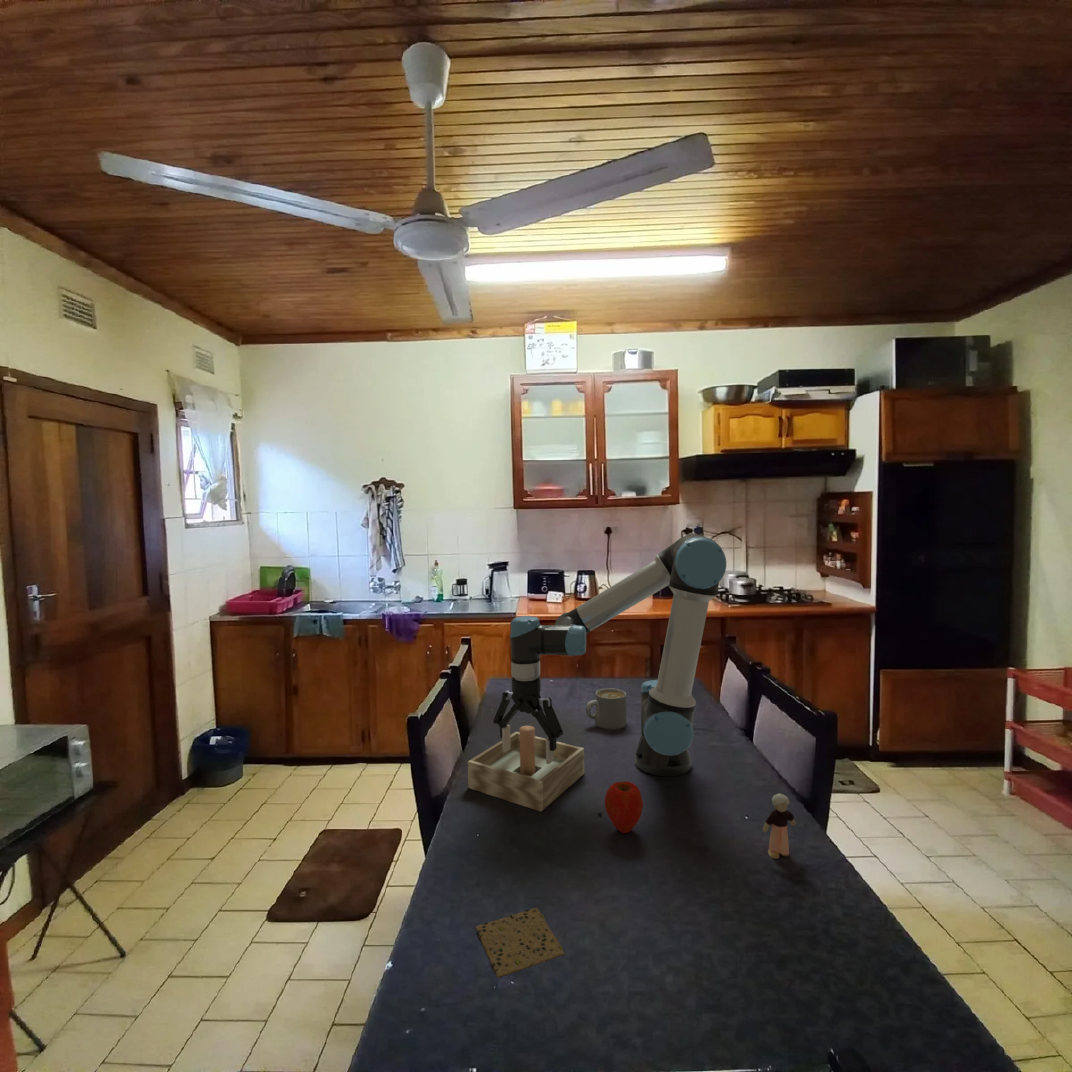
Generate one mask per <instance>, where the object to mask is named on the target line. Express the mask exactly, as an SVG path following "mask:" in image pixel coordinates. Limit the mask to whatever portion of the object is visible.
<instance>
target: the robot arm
mask: <svg viewBox="0 0 1072 1072" xmlns="http://www.w3.org/2000/svg"><path fill="white" fill-rule="evenodd" d="M726 570H727V558H726V554H725V552H724V550H723V549H722V547H721V545H719V544H718V542H716V541H715V540H713V539H711V538H709V537H707V536H705V535H702V534H697V533H691V534H687V535H684V536H682V537H680V538H678V539H677V540H676V541H675V542H673V543H672V544H670V545H669V546H668V547H666V548H665V549H663V550H662V551H660V552H659V553H657V554H656V555H655V558H654V560H653V561H651V562H649V563H648V564H646V565H645V566H643V567H641V568H639V569H638V570H636V571H634V572H633V573H631V574H630V575H627V576H626V577H624V579H621V580H619V581H618V582H617V583H615V584H613V585H611V586H609V587H608V588H607V589H605V590H603V591H602V592H600V593H598V594H597V595H595V596H593V597H591V598H590V599H588V600H587V601H585V602H583V603H582V604H580V605H579V606H577V607H575V608H573V609H572V610H571V611H568V612H563V613H562V614H560V616H558V617H557V619H556V620H555V621H554V625H546V624H545V625H543V624H541V623H540V619H539V618H538V617H536V616H530V615H522V616H521V615H520V616H516V617H514V618H513V619H512V620H511V621H510V635H509V639H510V666H511V667H510V669H511V670H510V672H511V673H510V675H511V677H512V678H511V689H507V690H505V691H503V692H502V695H501V697H502V698H501V701H500V703H499V706H498V709H497V710H496V713H495V716H494V718H493V720H492V723H493V724H494V725H496V724H497V725H498V727H499V737H500V739H501V741H502V747H503V752H504V753H505V752H507V751H508V750H510V749H511V739H510V735H511V725H510V724H509V723H510V721H511V720H512V719H513V717H514V716H515V715H516V714H517V712H518V711H519V713H526V714H529V715H530V714H531V715H532V717H534V718H535V719H536V721H537V722H538V724H539V725H540V727H541V728H542V730H543V732H544V733H545V734H546V736H547V737H546V738H545V739H546V764H550V763H551V762H552V761H554V750H555V749H556V741H557V739H558V738H560V737H561V736H563V734H564V731H563V729H562V726H561V724H560V722H559V719H558V716H557V714H556V711H555V710H554V707H553V702H552V701H553V699H552V698H551V697H550V696H549V697H547V698H545V697H544V698H542V697H541V690H542V685H541V683H542V682H541V680H542V679H541V676H540V675H541V655H542V656H545V655H546V656H547V655H548V656H570V657H573V656H583V655H584V654H586V653H587V634H588V633H590V632H591V631H593V630H595V629H596V628H598V627H600V626H601V625H603V624H605V623H606V622H608V621H610V620H611V619H614V618H615V617H616V616H619V615H620V614H621V613H624V612H625V611H626V610H629V609H630V608H633V607H634V606H635V605H637V604H639V603H640V602H643V601H644V600H646V599H647V598H649V597H651V596H653V595H654V594H656V593H658V592H659V591H661V590H663V589H664V588H666V587H669V589H670V590H671V592H672V594H673V596H672V602H671V607H670V612H669V618H668V623H667V628H666V635H665V640H664V645H663V649H662V654H661V661H660V664H659V672H658V676H657V679H653V680H646V681H644V682H643V683H642V684H641V687H640V689H641V690H640V694H641V695H640V696H641V697H640V699H641V700H640V701H641V702H640V705H641V706H640V707H641V709H640V712H641V713H640V714H641V715H640V716H641V717H640V718H641V719H640V720H641V722H640V725H641V726H640V727H641V730H640V731H641V733H640V734H641V735H640V738H639V741H638V743H637V747H636V749H635V754H634V763H635V766H636V767H637V768H638V769H640V771H643V772H645V773H647V774H649V775H650V774H651V775H654V776H659V777H677V776H681V775H684V774H686V773H688V772H689V771H690V770H691V768H692V757H691V754H690V751H689V748H690V746H691V745H692V743H693V739H694V728H693V727H694V726H693V721H694V716H695V711H696V710H695V709H696V705H697V702H696V699H695V698H694V697H693V694H692V693H693V692H692V691H693V687H694V681H695V678H696V677H695V676H696V673H697V672H696V670H697V665H698V661H699V654H700V650H701V645H702V639H703V634H704V629H705V624H706V619H707V613H708V610H709V603H710V601H712V600H713V599H714V598H716V597H718V591H719V587H720V582H721V580H722V579H723V577H724V576H725V573H726ZM511 700H512V701H513V703H514V704H513V705H512V707H511V708H510V709H509V710H508V711H507V709H508V706H509V705H510V702H511ZM506 711H507V713H506Z"/></svg>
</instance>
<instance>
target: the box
mask: <svg viewBox="0 0 1072 1072" xmlns="http://www.w3.org/2000/svg"><path fill="white" fill-rule="evenodd" d="M510 739H511V749H510V750H508V751H507V752H505V753H504V752H503V747H502V740H499V742H497V743H495V744H494V745H492V746H490V747H489V748H487V749H485V750H484V751H483V752H481V753H479V754H477V755H476V756H474V757H472V758H471V759H470V760H468V761H467V779H468V780H467V784H468V789H471V790H474V791H476V792H478V793H479V792H480V793H481V794H482V793H483V794H486V795H489V796H491V797H495V798H497V799H501V800H504V801H507V802H510V803H513V804H517V805H520V806H523V807H525V808H528V809H532V810H535V811H538V812H542V811H544V809H545V810H546V808H547V807H548V806H549V805H551V804H552V803H553V802H554V801H555V800H556V799H558V798H559V796H561V795H562V794H563V793H564V792H566V790H568V788H570V787H571V786H572V785H573V784H575V783H576V782H577V781H578V780H579V779H580V778H581V777H582V776H583V775H585V748H584V747H581V746H577V745H572V744H568V743H564V742H561V741H557V740H556V749H555V750H554V761H552V762H551V763H550V764H546V738H544V737H540V736H537V735H535V774H533V775H532V776H531V777H530V776H527V775H524V774H520V735H519V731H514V732H513V733H510Z"/></svg>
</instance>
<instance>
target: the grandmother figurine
mask: <svg viewBox="0 0 1072 1072" xmlns="http://www.w3.org/2000/svg"><path fill="white" fill-rule="evenodd" d="M771 801H772V802H771V804H772V805H773V807H774V810H772V812H771V813H770V814H769V815H768V817H767V819H766V820H765V822H764V826H763V827H762V831H763V832H764V833H767V832H768V831H769V828H771V832H770V835H769V845H768V850H767V853H768V855H769V857H770V858H771V859H774V860H775V859H779V858H780V855H781V856H783V857H788V856H790V849H789V848H790V847H789V835H788V833H789V832H788V821H789V822H790V825H791V826H796V825H797V822H796V820H795V816H794V815H793V813H792V812H791V811H789V810H788V805H789V804H790V799H789V797H787V796H786V795H784V794H782V793H777V794H774V795H773V796H772V798H771ZM771 826H772V827H771Z"/></svg>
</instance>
